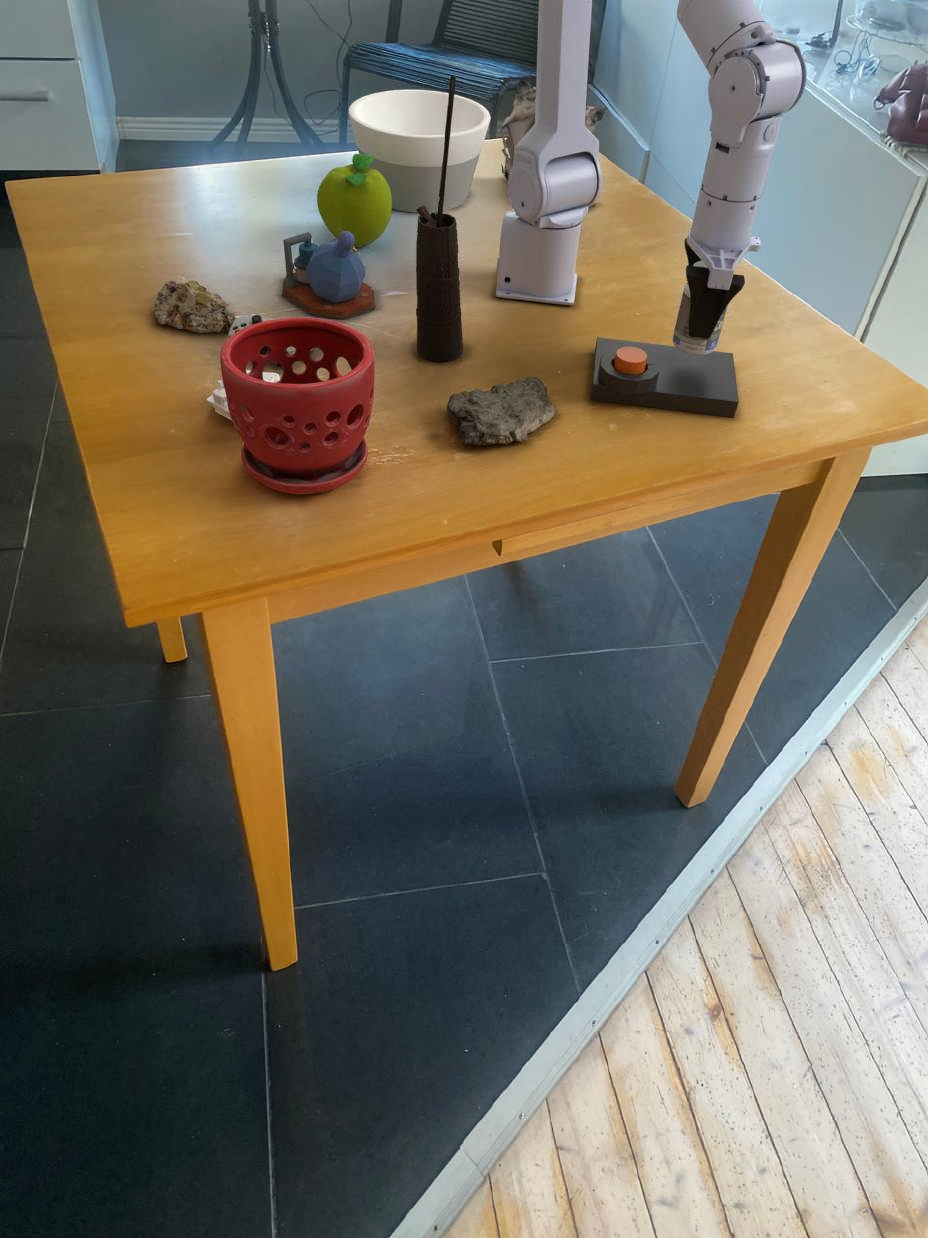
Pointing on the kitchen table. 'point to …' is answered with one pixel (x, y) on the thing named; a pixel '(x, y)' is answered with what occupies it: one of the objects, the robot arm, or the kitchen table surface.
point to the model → (327, 278)
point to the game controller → (250, 320)
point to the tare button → (630, 360)
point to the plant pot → (300, 403)
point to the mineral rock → (192, 308)
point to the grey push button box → (667, 379)
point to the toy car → (220, 399)
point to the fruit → (355, 201)
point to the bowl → (420, 144)
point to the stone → (500, 412)
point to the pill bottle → (682, 328)
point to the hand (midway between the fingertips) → (698, 323)
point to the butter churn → (438, 273)
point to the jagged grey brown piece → (532, 121)
